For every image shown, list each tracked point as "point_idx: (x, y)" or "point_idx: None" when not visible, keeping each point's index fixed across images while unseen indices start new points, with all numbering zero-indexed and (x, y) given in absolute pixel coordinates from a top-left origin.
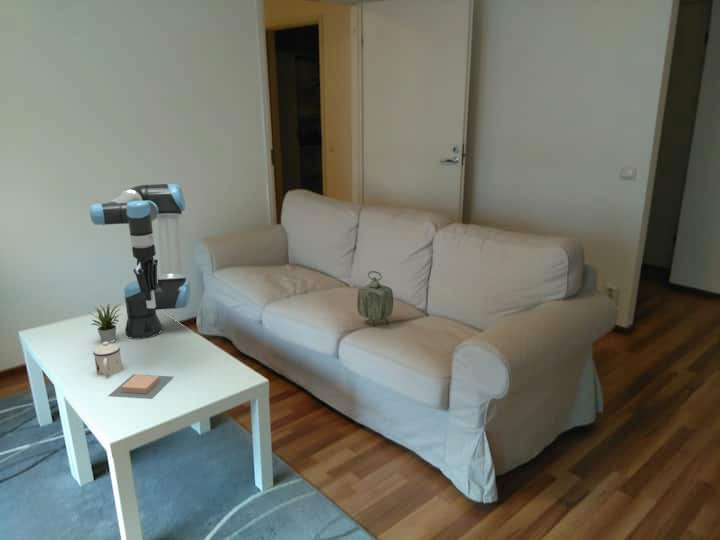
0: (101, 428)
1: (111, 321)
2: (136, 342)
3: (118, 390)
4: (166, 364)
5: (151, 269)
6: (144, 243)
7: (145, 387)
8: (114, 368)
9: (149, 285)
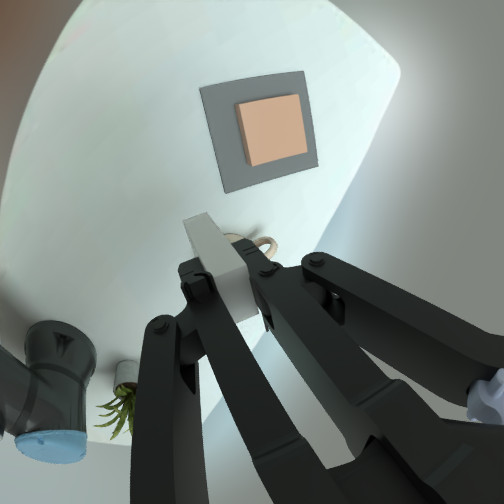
0: (387, 103)
1: (123, 398)
2: (97, 326)
3: (295, 163)
4: (143, 164)
5: (325, 471)
6: None
7: (295, 98)
8: (240, 239)
9: (298, 297)
